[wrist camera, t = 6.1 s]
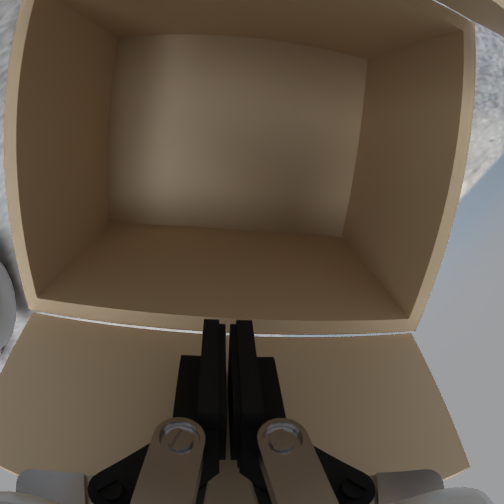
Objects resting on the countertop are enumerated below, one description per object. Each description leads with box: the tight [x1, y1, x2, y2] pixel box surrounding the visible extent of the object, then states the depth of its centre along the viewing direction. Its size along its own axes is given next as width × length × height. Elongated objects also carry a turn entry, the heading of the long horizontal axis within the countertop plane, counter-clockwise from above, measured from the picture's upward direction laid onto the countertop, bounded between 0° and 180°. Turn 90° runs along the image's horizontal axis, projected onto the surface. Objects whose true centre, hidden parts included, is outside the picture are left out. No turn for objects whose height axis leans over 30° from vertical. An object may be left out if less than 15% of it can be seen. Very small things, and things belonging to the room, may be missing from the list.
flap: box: [0, 313, 470, 504], centre depth 10 cm, size 8×19×1 cm
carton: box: [4, 0, 476, 335], centre depth 16 cm, size 16×20×12 cm
